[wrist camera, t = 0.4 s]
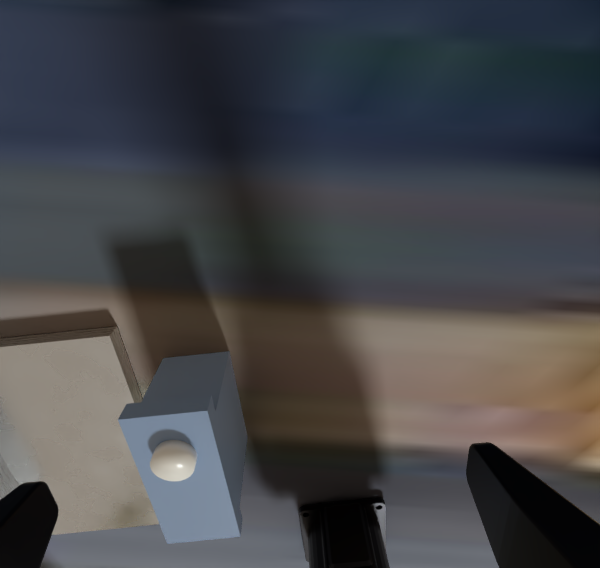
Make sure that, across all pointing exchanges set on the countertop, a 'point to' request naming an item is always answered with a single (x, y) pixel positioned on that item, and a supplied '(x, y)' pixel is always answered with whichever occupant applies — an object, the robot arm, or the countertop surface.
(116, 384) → the chassis plate
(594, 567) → the robot arm
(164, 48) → the countertop surface
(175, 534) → the block
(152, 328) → the countertop surface
